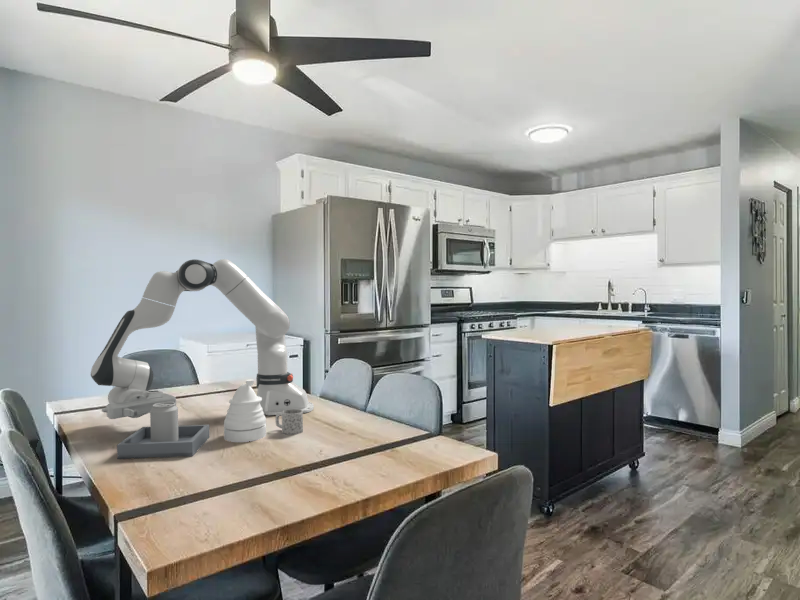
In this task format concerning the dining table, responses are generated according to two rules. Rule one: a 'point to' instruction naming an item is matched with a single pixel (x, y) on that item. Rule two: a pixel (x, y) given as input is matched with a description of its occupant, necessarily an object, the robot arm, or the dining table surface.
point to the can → (164, 422)
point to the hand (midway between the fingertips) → (151, 410)
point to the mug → (290, 421)
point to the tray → (163, 443)
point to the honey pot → (245, 416)
